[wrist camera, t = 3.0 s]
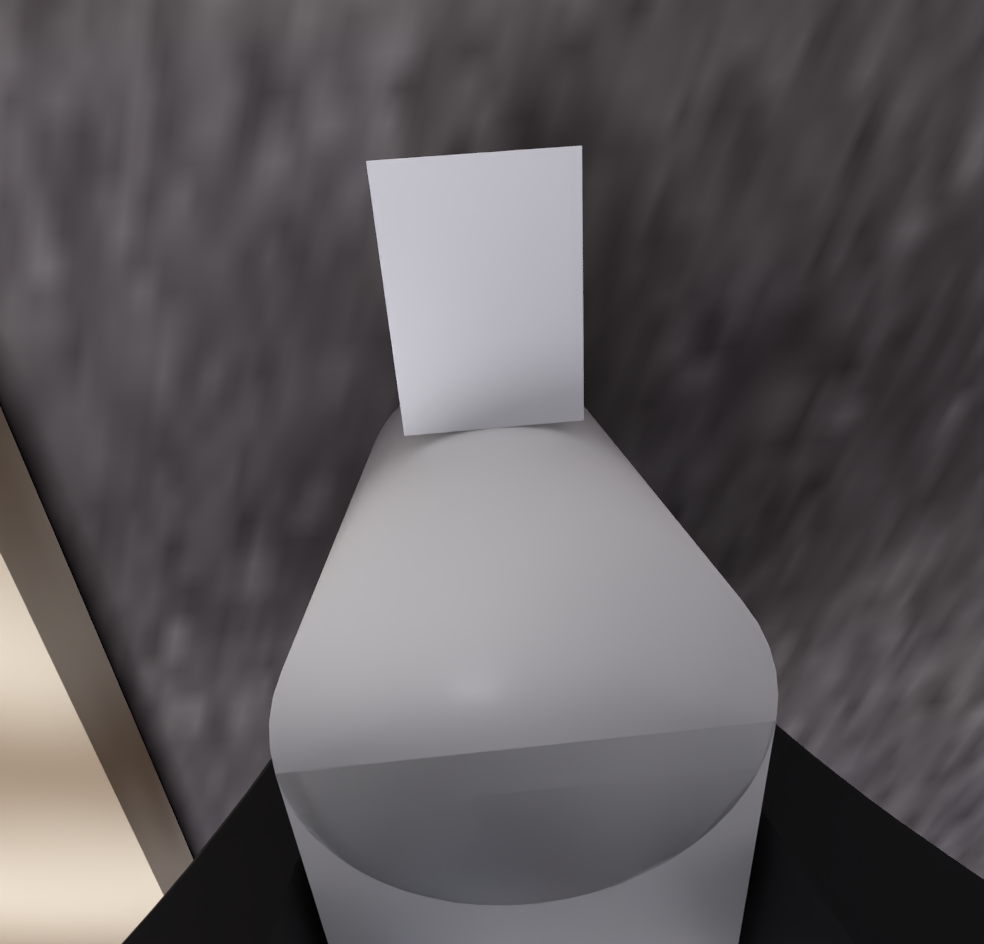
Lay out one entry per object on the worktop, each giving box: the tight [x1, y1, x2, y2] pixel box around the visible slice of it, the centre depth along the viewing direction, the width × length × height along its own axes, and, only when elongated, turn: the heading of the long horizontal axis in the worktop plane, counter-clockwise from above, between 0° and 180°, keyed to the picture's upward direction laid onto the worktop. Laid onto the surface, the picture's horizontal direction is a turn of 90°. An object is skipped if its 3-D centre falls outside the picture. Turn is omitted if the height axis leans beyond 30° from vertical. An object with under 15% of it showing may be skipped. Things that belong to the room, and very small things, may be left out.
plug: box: [269, 146, 778, 944], centre depth 7 cm, size 12×4×5 cm, turn 4°
